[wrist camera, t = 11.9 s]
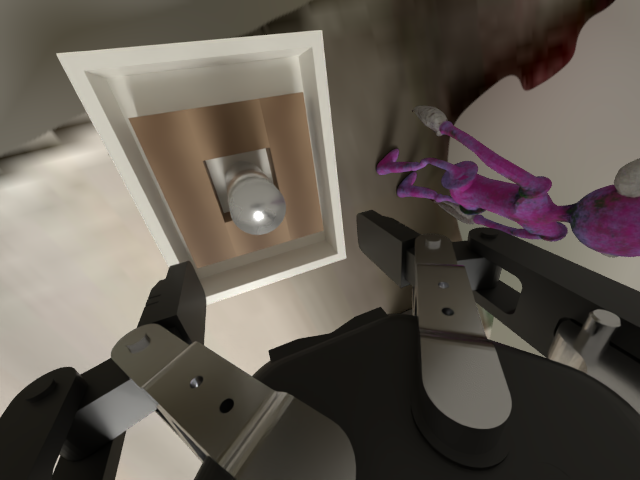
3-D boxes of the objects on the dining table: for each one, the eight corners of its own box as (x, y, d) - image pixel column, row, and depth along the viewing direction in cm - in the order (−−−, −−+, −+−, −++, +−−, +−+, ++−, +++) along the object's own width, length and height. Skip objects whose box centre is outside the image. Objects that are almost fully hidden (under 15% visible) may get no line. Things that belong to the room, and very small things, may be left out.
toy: (447, 179, 38) (715, 253, 18) (415, 216, 39) (637, 326, 18) (390, 97, 30) (773, 56, 9) (351, 145, 30) (627, 205, 10)
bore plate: (294, 94, 25) (303, 91, 23) (315, 221, 32) (323, 230, 29) (138, 117, 22) (128, 118, 19) (198, 254, 28) (197, 268, 26)
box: (303, 44, 24) (321, 29, 20) (330, 241, 35) (346, 258, 31) (89, 66, 20) (55, 53, 16) (194, 283, 31) (191, 310, 26)
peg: (258, 157, 26) (279, 176, 18) (268, 193, 28) (290, 226, 20) (219, 165, 25) (221, 189, 17) (231, 202, 27) (239, 241, 19)
